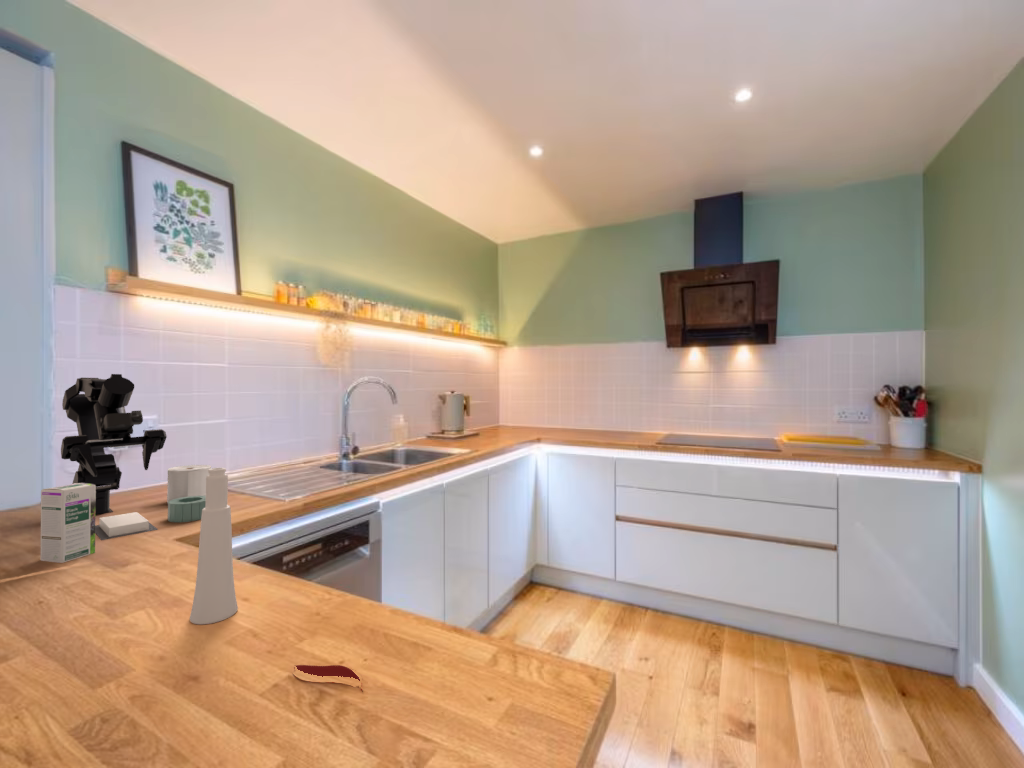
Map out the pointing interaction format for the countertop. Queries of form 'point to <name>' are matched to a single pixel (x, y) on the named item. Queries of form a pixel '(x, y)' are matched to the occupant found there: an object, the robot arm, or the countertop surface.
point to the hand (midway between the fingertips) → (122, 472)
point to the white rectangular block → (123, 524)
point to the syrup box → (67, 522)
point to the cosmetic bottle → (215, 555)
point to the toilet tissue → (187, 481)
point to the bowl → (186, 508)
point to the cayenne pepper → (328, 670)
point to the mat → (104, 536)
